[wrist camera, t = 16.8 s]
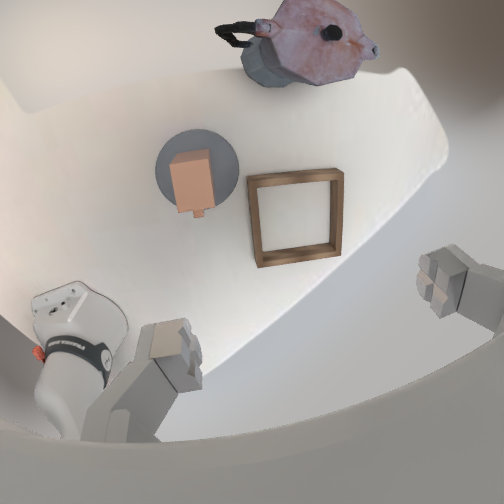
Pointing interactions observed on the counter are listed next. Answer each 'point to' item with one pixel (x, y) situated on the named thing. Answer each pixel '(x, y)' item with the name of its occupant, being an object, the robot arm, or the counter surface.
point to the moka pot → (302, 44)
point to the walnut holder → (307, 251)
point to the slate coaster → (221, 162)
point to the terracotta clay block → (193, 181)
